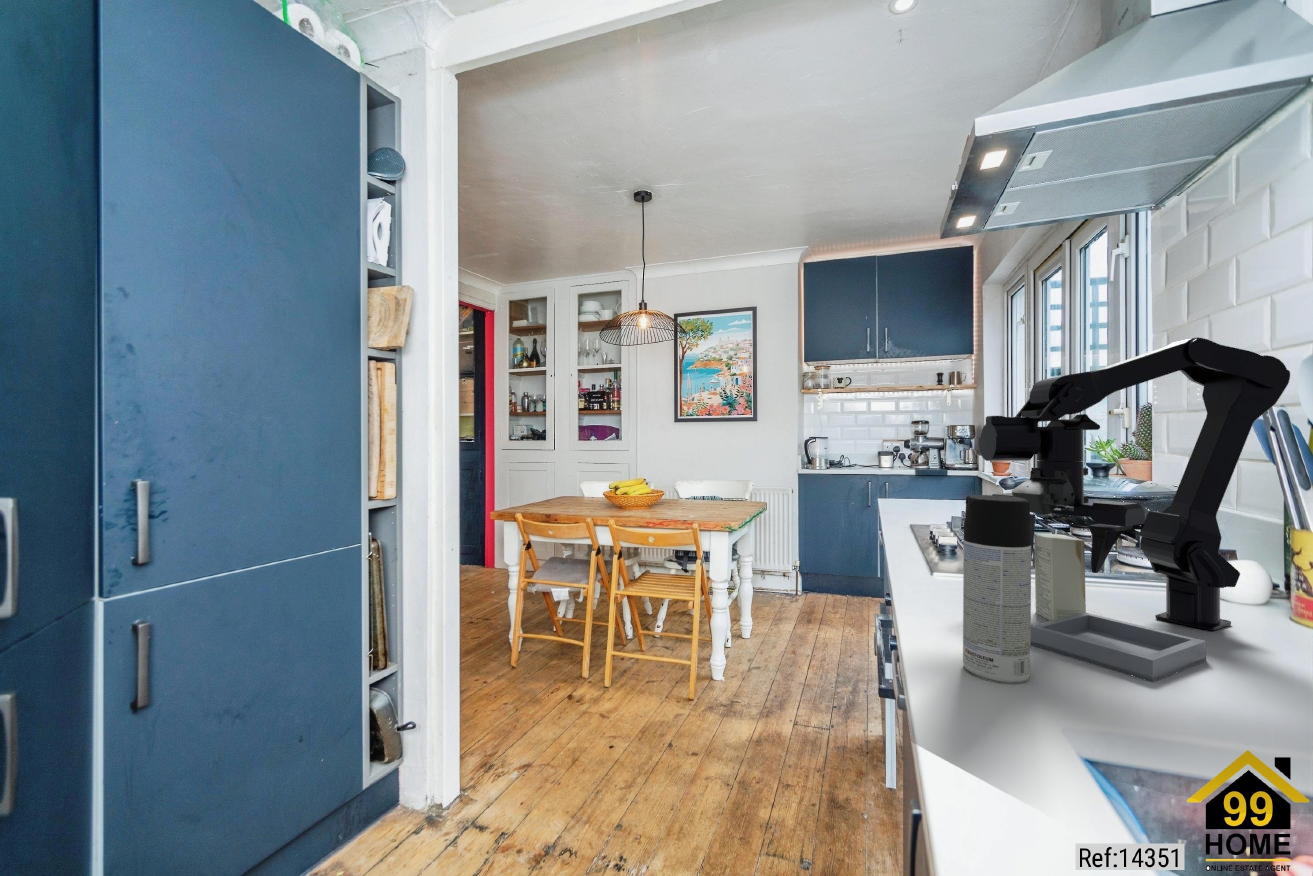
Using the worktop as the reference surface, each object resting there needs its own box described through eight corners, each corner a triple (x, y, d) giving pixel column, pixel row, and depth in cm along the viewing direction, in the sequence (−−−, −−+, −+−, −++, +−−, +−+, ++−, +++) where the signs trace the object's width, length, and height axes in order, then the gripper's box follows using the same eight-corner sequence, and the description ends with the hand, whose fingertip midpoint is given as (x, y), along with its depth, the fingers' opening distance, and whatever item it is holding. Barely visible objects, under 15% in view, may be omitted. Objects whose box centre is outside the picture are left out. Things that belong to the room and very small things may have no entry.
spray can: (1022, 666, 67) (1021, 495, 68) (1039, 689, 61) (1039, 501, 61) (958, 659, 70) (958, 493, 70) (968, 681, 63) (968, 499, 63)
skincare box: (1087, 626, 82) (1087, 540, 82) (1053, 624, 83) (1053, 539, 83) (1065, 613, 88) (1064, 533, 88) (1033, 611, 89) (1033, 532, 89)
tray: (1084, 630, 80) (1084, 612, 80) (1206, 662, 69) (1206, 641, 69) (1029, 645, 74) (1029, 626, 74) (1152, 683, 63) (1152, 660, 63)
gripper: (965, 460, 90) (966, 560, 90) (1102, 464, 73) (1103, 587, 73) (1008, 458, 95) (1009, 553, 95) (1146, 462, 79) (1147, 577, 79)
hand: (1060, 566), depth 85 cm, fingers open, 9 cm apart
